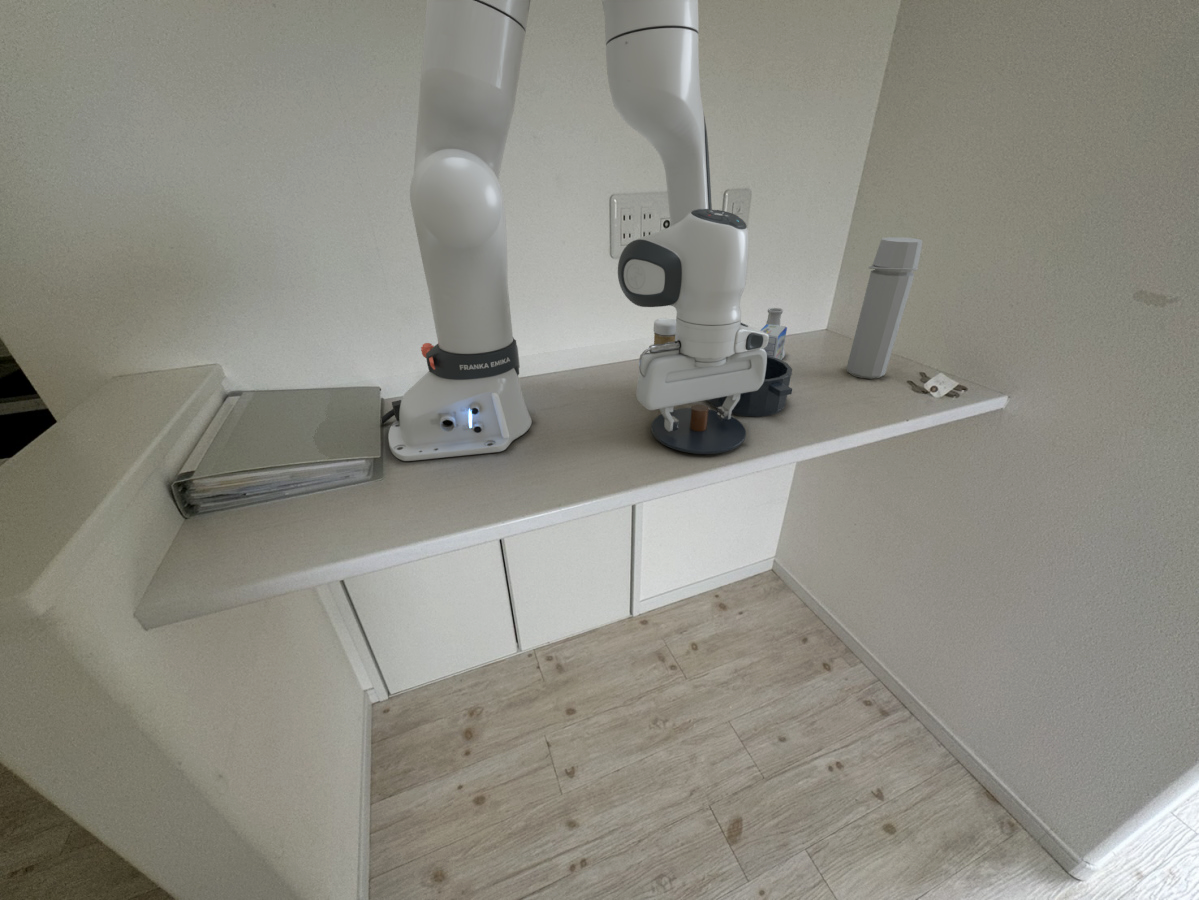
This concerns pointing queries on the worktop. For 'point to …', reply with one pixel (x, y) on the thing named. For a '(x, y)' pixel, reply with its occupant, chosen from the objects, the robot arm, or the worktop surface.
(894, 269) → the water bottle
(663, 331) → the sprinkles bottle
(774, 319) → the flask
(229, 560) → the worktop surface
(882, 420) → the worktop surface
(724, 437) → the pan lid
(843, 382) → the worktop surface
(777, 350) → the medicine box
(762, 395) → the pan
